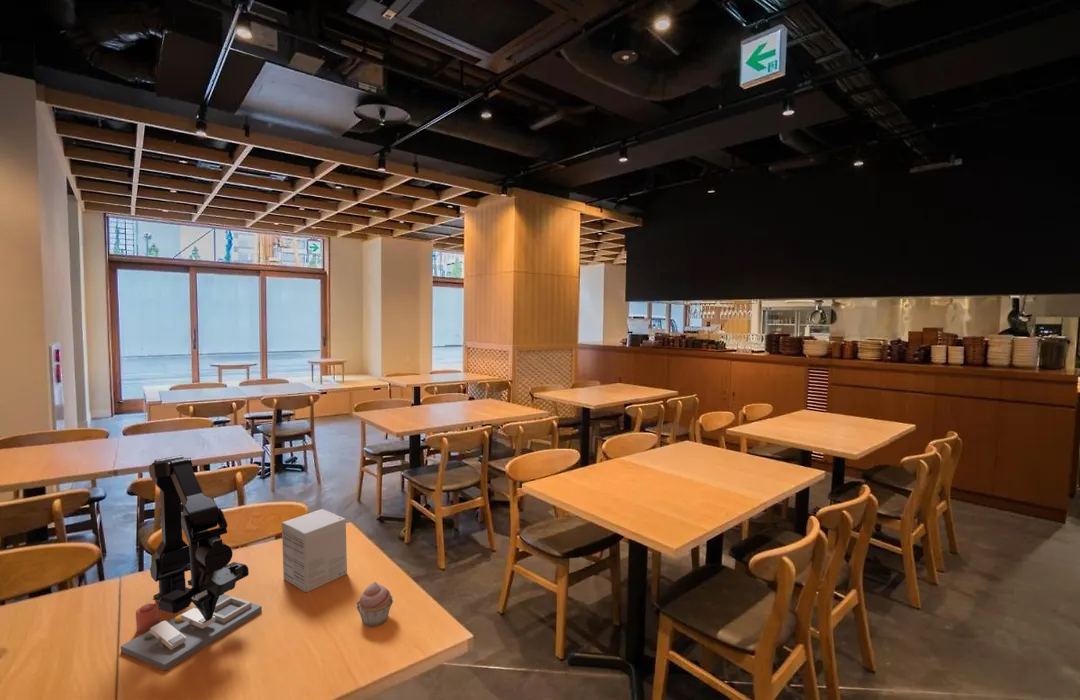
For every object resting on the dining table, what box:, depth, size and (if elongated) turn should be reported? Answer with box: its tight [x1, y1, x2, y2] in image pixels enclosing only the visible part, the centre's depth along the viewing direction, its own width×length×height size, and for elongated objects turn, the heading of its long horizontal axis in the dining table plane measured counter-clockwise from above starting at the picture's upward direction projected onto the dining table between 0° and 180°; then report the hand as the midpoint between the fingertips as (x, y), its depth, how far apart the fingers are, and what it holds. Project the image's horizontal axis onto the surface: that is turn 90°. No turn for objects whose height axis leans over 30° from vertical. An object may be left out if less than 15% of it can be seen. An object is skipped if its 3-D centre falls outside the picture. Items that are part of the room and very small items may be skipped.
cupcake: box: [355, 581, 394, 628], centre depth 130 cm, size 9×9×10 cm
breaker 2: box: [180, 607, 215, 629], centre depth 124 cm, size 8×4×1 cm, turn 68°
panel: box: [120, 593, 263, 672], centre depth 125 cm, size 16×24×3 cm, turn 158°
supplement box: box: [281, 508, 348, 593], centre depth 150 cm, size 13×13×18 cm
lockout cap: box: [135, 603, 160, 635], centre depth 125 cm, size 4×4×6 cm
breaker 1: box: [150, 620, 186, 650], centre depth 118 cm, size 8×4×1 cm, turn 68°
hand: (208, 619), depth 123 cm, fingers closed, pressing on breaker 2
